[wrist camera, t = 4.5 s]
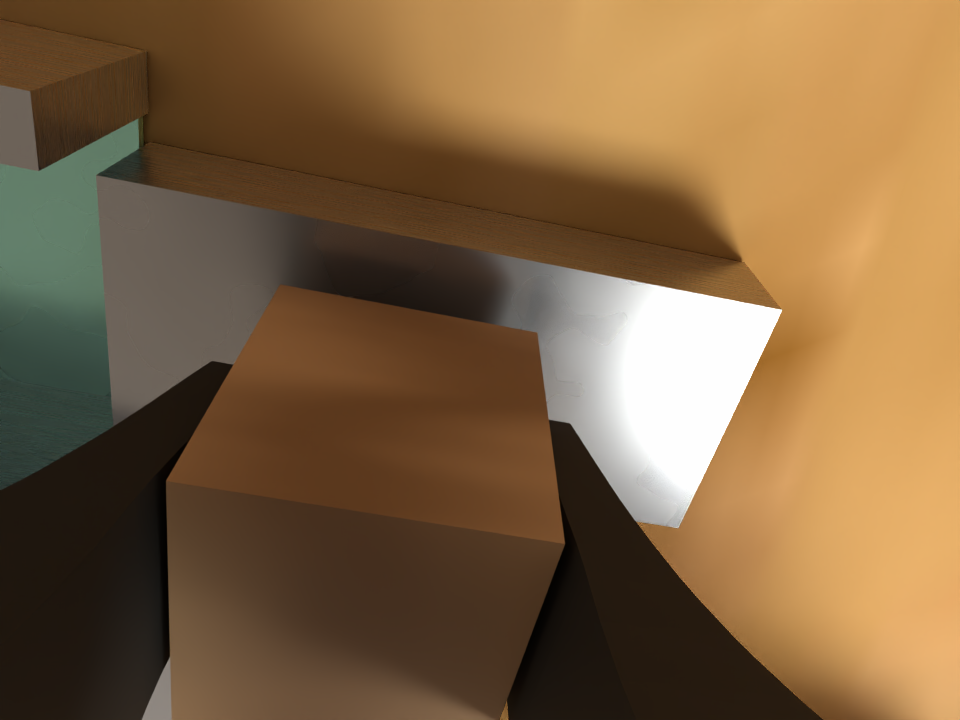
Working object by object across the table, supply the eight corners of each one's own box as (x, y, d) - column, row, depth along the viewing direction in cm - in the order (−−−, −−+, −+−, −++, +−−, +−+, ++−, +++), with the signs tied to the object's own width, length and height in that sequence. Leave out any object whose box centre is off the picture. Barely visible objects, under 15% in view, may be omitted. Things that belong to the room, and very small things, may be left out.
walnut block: (537, 332, 11) (564, 544, 7) (484, 518, 13) (484, 760, 9) (279, 284, 11) (166, 480, 7) (265, 483, 13) (171, 721, 9)
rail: (777, 186, 13) (866, 263, 10) (636, 513, 17) (669, 639, 14) (-355, -57, 11) (-672, -54, 8) (-208, 375, 15) (-383, 486, 12)
